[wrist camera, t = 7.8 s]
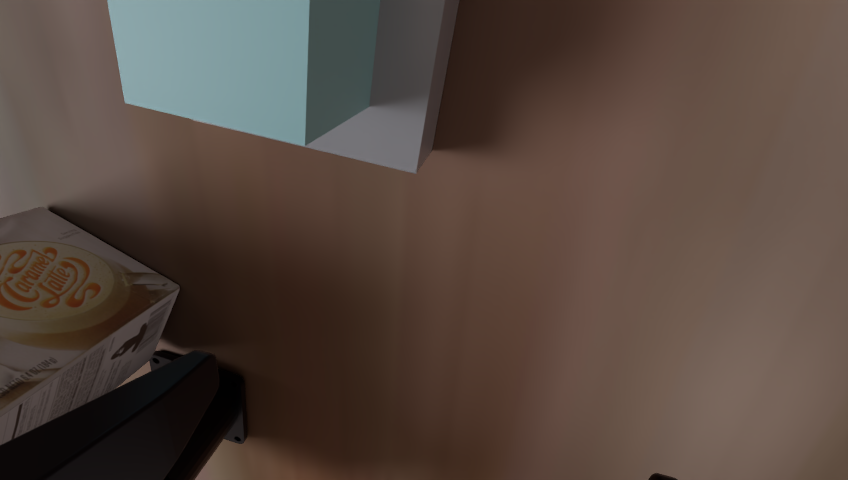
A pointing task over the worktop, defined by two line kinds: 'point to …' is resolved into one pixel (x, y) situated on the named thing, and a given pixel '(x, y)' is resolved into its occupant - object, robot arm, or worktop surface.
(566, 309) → the worktop surface
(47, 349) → the coffee box
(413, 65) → the stone plinth
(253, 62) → the teal cube
